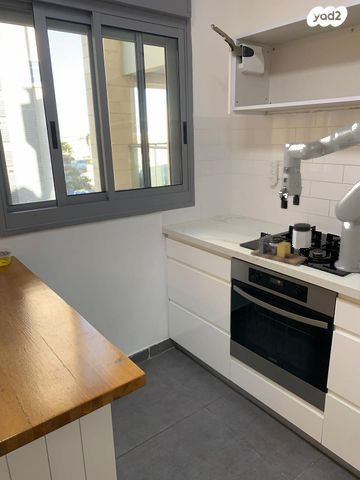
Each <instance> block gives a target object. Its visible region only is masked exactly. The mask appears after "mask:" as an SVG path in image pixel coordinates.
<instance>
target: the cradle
mask: <svg viewBox="0 0 360 480" xmlns="http://www.w3.org/2000/svg"><path fill="white" fill-rule="evenodd" d="M272 255H275V256H276V255H277V248H276V247H273V248H272Z"/></svg>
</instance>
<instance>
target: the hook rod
mask: <svg viewBox="0 0 360 480" xmlns="http://www.w3.org/2000/svg"><path fill="white" fill-rule="evenodd" d="M266 245H267V246H272V247H273V248H274V247H276V248H277V256H278V257H283V258H285V257H287V256H289V255H290V254H291V242H287V241H282V242H279V243H274V242H273V243H269V242H266Z"/></svg>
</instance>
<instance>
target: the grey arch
mask: <svg viewBox="0 0 360 480" xmlns="http://www.w3.org/2000/svg"><path fill="white" fill-rule="evenodd" d="M273 237H274V236H273V235H272V234H267V235H265V236H261V237H259V238H258V249H259V254H266V253H268V252H270V251H272V248H274V247H272V246H267V245H266V242H269V243H273V244H274V240H273Z"/></svg>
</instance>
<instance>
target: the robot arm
mask: <svg viewBox="0 0 360 480" xmlns="http://www.w3.org/2000/svg"><path fill="white" fill-rule="evenodd" d="M359 145H360V119H357V120H356V121H355V122H354V123H352V124H349V125H346V126H343V127H340V128H338V129H336V130H335V131H334V133H332V134H331V135H328V136H326V137H323V138H320V139H316V140H312V141H306V142H305V141H304V142H296V141H295V142H286V143H285V144H284V146H283V167H282V170H283V171H282V174H283V175H282V179H281V189H280V190H279V191H278V195H279V199H280V209H283V210H287V209H288V208H289V207H288V203H289V200H288V199H289V197H292V205H293V206H300V199H301V198H300V197H301V194H302V191H303V186H302V173H301V168H302V167H301V164H302V163H301V162H302V160H303V161H307V160H308V161H310V160H311V159H318V158H321V157H325V156H327V155H330V154H333V153H336V152H341V151H344V150H347V149H349V148H353V147H355V146H359ZM334 215H335V217H336V219H338V221H340V222H342V224H341V230H340V231H341V232H340V243H339V244H340V245H339V256H338V257H339V258H338V260H337V261H335V262H334V267H335V268H336V269H337V270H339V271H342V272H346V273H347V272H348V273H360V180H358V181H357V182H356V183H354V185H353V186H352V187H351V188H350V189H349V190H347V192H346V193H345V195H344V196H342V197H341V199H339V201H338V202H337V203H336V204H335V207H334Z"/></svg>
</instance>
